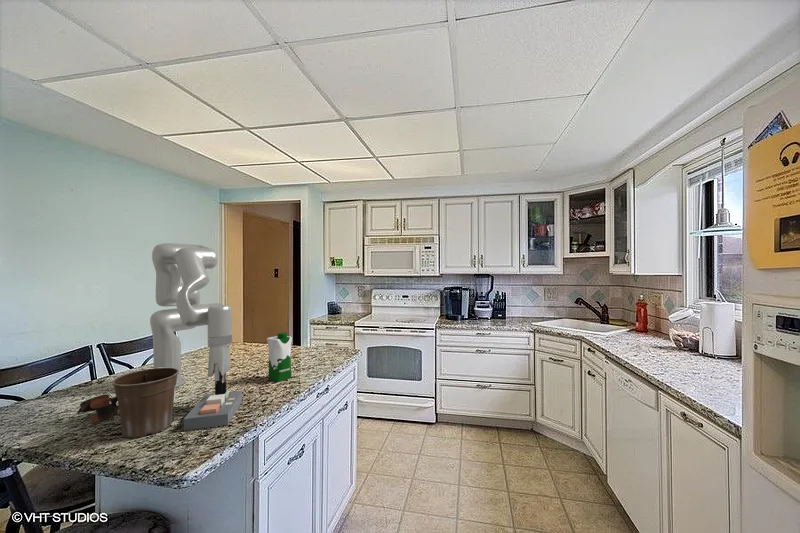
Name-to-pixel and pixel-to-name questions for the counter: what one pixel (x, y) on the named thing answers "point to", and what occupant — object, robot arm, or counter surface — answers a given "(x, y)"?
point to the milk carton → (279, 357)
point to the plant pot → (145, 400)
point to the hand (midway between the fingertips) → (220, 393)
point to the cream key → (216, 399)
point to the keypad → (214, 419)
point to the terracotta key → (210, 409)
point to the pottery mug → (100, 407)
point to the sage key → (225, 394)
